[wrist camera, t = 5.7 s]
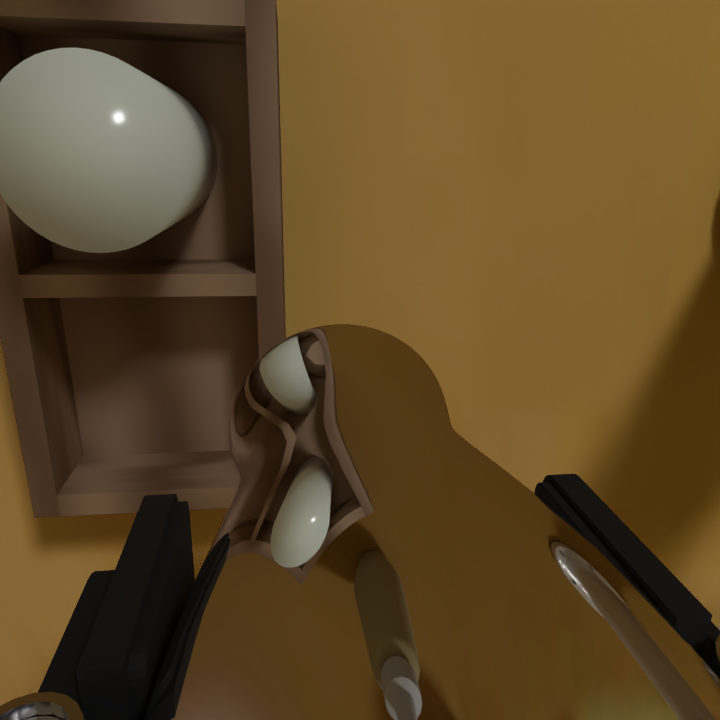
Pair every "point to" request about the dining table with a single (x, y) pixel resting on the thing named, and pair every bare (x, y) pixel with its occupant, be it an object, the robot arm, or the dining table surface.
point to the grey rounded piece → (99, 151)
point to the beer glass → (403, 569)
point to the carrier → (149, 273)
